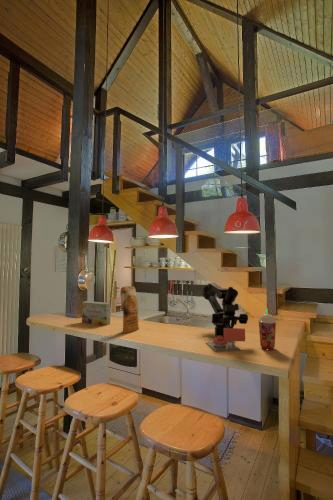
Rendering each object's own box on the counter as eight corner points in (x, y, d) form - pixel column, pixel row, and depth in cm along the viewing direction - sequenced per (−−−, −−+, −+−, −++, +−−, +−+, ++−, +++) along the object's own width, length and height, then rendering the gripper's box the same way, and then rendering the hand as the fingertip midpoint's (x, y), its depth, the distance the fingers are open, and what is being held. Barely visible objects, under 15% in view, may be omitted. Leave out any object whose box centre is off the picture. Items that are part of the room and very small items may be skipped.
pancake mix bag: (116, 333, 168) (116, 287, 169) (134, 327, 184) (134, 285, 186) (125, 334, 165) (125, 287, 166) (142, 328, 181) (143, 285, 183)
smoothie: (272, 345, 143) (271, 307, 144) (279, 350, 135) (278, 309, 136) (256, 345, 143) (255, 307, 144) (262, 351, 134) (261, 309, 135)
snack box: (81, 323, 197) (81, 301, 198) (86, 321, 202) (86, 300, 203) (106, 325, 188) (106, 303, 189) (110, 324, 194) (111, 302, 194)
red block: (213, 344, 138) (213, 329, 138) (212, 340, 145) (212, 326, 145) (246, 345, 136) (245, 330, 136) (243, 341, 143) (243, 327, 143)
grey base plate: (229, 342, 149) (229, 337, 149) (240, 350, 135) (240, 345, 135) (206, 343, 147) (206, 338, 147) (215, 351, 133) (215, 346, 133)
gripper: (212, 298, 149) (214, 323, 137) (247, 298, 147) (252, 323, 136) (210, 310, 156) (212, 335, 144) (244, 311, 155) (249, 336, 143)
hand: (231, 332), depth 142 cm, fingers closed
